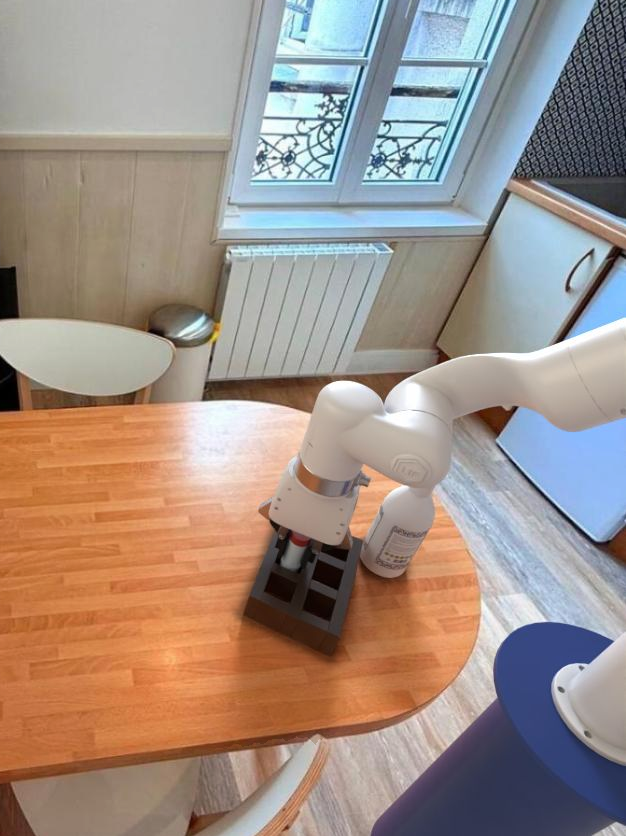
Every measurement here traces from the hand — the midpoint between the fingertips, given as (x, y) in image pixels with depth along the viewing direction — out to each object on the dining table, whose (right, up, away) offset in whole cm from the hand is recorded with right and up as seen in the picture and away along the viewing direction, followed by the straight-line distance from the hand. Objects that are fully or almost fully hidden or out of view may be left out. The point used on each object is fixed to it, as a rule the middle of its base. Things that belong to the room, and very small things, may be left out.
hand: (293, 555), depth 89 cm
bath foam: (+16, -3, +7) cm, 18 cm away
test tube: (0, -4, +3) cm, 5 cm away
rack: (+2, -5, +3) cm, 6 cm away
